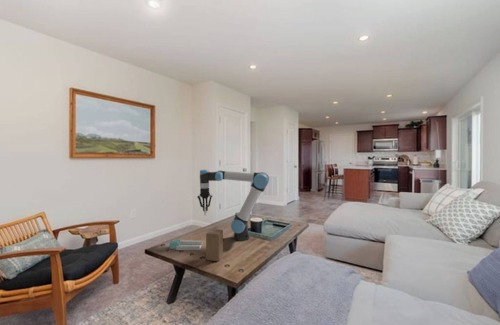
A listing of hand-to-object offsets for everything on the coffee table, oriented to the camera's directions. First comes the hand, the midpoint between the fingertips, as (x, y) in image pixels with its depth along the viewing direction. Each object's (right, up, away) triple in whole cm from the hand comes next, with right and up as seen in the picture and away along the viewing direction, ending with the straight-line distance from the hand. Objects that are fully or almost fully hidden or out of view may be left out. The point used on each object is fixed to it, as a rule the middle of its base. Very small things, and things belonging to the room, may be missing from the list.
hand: (205, 214), depth 196 cm
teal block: (-23, -24, -11) cm, 34 cm away
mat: (-24, -24, -11) cm, 36 cm away
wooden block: (+13, -25, -30) cm, 41 cm away
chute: (-10, -24, -11) cm, 29 cm away
